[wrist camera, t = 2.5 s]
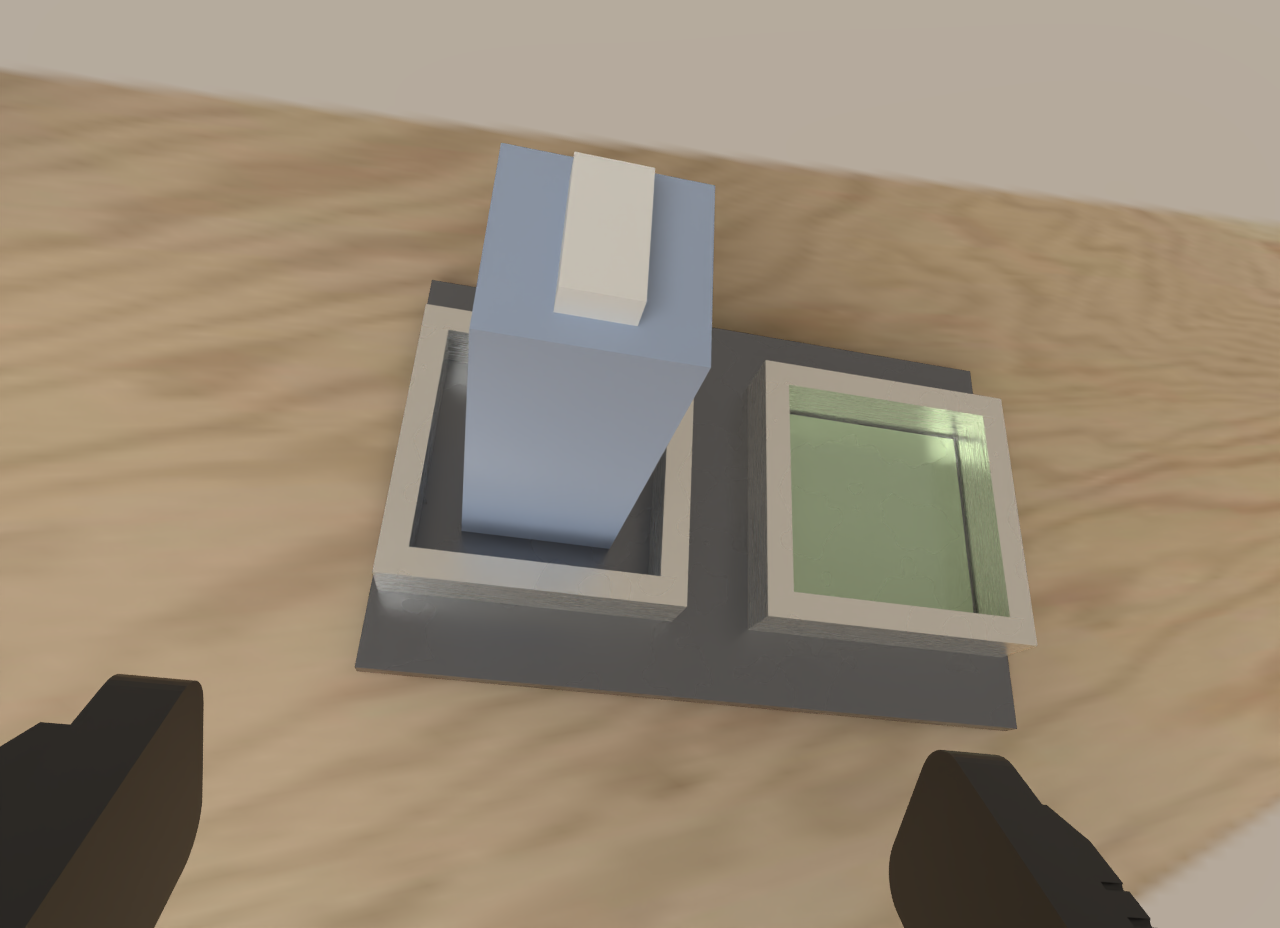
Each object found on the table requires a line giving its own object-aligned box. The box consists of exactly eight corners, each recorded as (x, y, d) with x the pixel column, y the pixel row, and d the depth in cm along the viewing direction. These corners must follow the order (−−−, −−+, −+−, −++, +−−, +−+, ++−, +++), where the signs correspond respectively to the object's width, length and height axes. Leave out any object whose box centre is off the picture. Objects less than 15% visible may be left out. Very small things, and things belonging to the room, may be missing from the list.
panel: (356, 671, 23) (347, 654, 21) (432, 290, 28) (431, 245, 26) (1005, 730, 26) (1054, 721, 24) (961, 379, 32) (998, 346, 30)
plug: (461, 530, 25) (470, 302, 14) (481, 399, 26) (503, 111, 16) (609, 548, 25) (723, 345, 15) (619, 419, 27) (726, 157, 17)
